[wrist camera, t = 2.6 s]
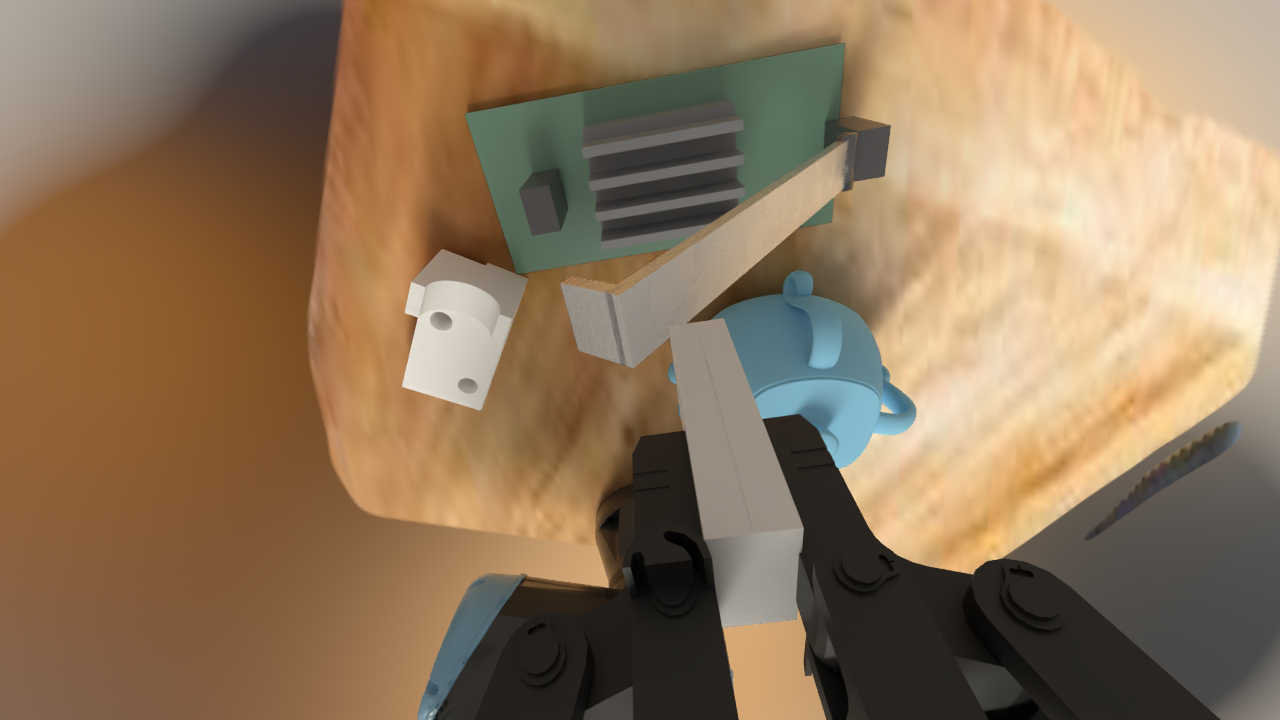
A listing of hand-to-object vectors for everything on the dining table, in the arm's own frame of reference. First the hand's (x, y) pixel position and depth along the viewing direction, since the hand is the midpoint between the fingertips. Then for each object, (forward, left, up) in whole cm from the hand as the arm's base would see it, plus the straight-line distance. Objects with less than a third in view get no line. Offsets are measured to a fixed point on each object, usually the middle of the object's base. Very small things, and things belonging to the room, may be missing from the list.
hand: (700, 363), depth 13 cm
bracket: (-10, +18, -27) cm, 34 cm away
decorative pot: (-18, -9, -27) cm, 33 cm away
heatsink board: (0, -1, -26) cm, 26 cm away
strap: (0, -3, -13) cm, 13 cm away
